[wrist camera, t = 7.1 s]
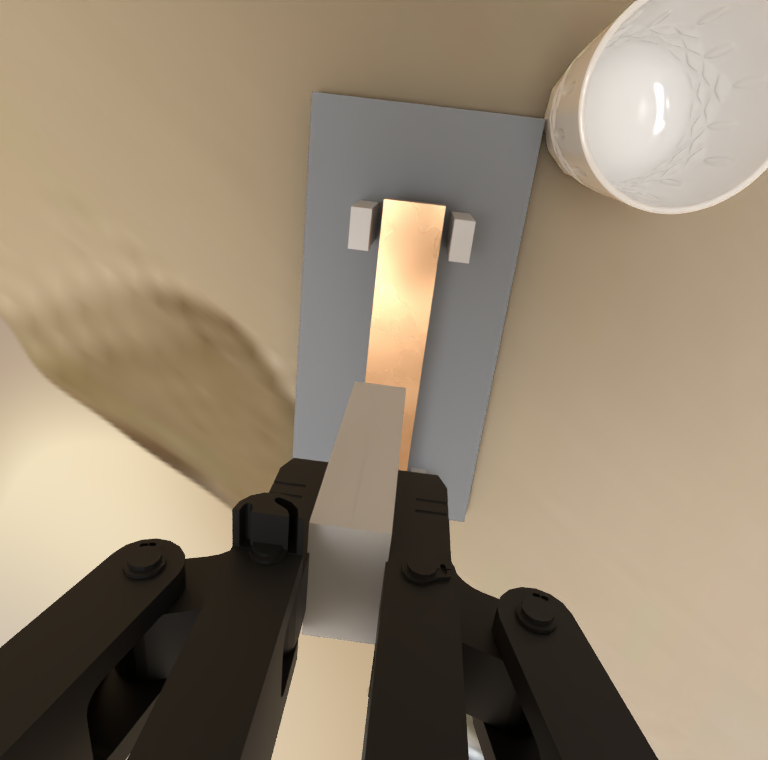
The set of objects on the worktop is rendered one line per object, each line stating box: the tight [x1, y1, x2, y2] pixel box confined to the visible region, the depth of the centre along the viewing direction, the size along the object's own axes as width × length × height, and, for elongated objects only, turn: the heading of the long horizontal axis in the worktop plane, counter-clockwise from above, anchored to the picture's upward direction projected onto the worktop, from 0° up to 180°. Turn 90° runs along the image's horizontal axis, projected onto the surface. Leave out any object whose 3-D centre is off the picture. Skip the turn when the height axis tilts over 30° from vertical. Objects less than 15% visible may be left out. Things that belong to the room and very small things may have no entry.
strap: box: [365, 198, 446, 471], centre depth 31 cm, size 19×3×1 cm, turn 173°
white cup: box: [544, 0, 768, 214], centre depth 24 cm, size 8×8×10 cm
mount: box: [293, 92, 545, 522], centre depth 32 cm, size 25×12×6 cm, turn 174°
